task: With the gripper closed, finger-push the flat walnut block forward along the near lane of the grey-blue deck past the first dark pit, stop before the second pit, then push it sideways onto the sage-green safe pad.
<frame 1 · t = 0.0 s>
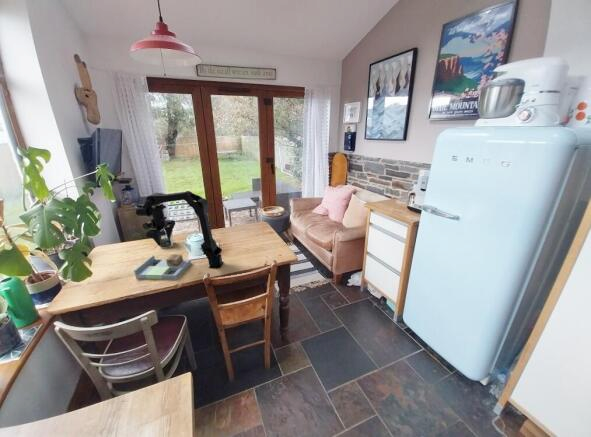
hand: (164, 242, 137), 15 cm above the table, fingers open, 9 cm apart
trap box: (165, 270, 136), on the table
walnut block: (175, 263, 139), point 2 cm above the table, touching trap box
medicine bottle: (167, 245, 166), on the table
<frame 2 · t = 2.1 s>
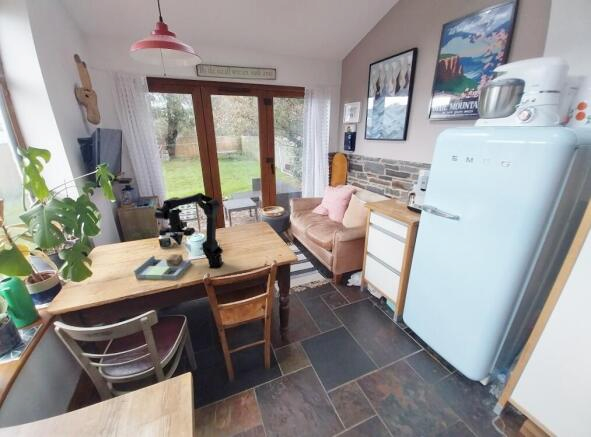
hand: (180, 244, 142), 11 cm above the table, fingers closed
nothing on the table moved.
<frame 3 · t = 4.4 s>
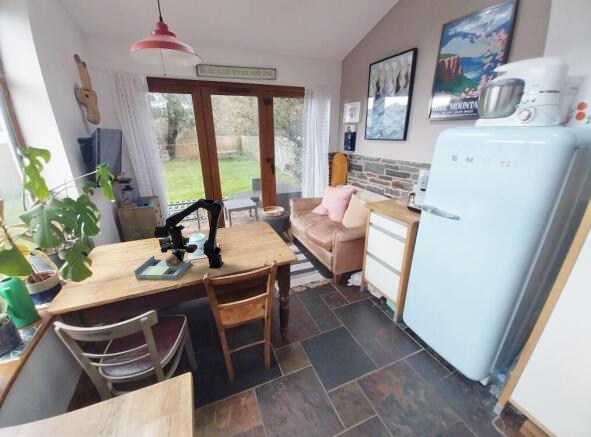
hand: (182, 261, 138), 4 cm above the table, fingers closed
walnut block: (174, 263, 139), point 3 cm above the table, touching gripper, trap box
everything else where it was.
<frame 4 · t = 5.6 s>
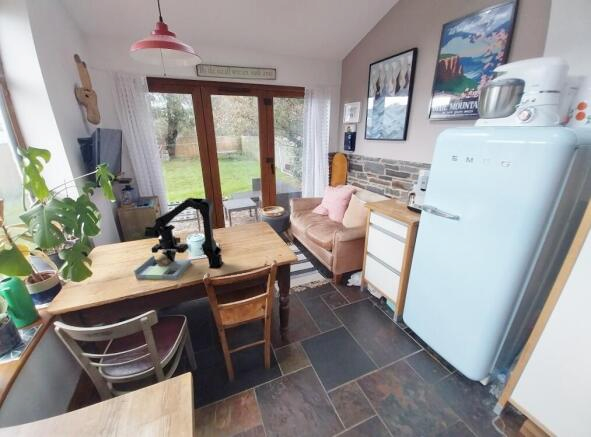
hand: (173, 261, 139), 4 cm above the table, fingers closed
walnut block: (165, 262, 139), point 3 cm above the table, touching gripper, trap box
everything else where it was.
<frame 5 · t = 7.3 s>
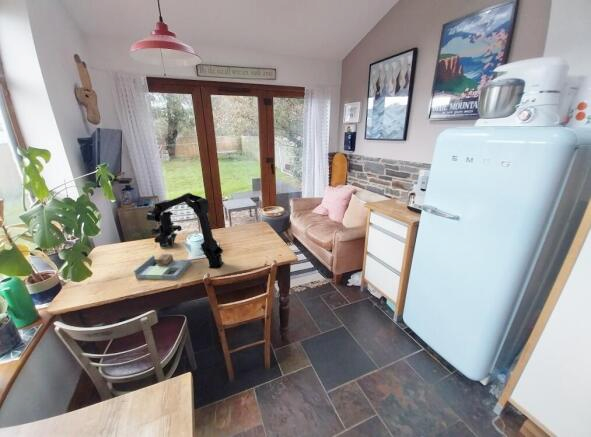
hand: (171, 246, 144), 9 cm above the table, fingers closed
walnut block: (165, 262, 139), point 2 cm above the table, touching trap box
everything else where it was.
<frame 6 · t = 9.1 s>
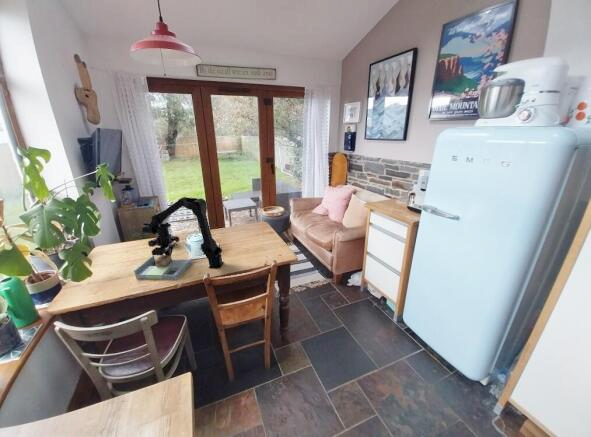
hand: (169, 258, 142), 4 cm above the table, fingers closed
walnut block: (164, 263, 138), point 3 cm above the table, touching gripper, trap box
everything else where it was.
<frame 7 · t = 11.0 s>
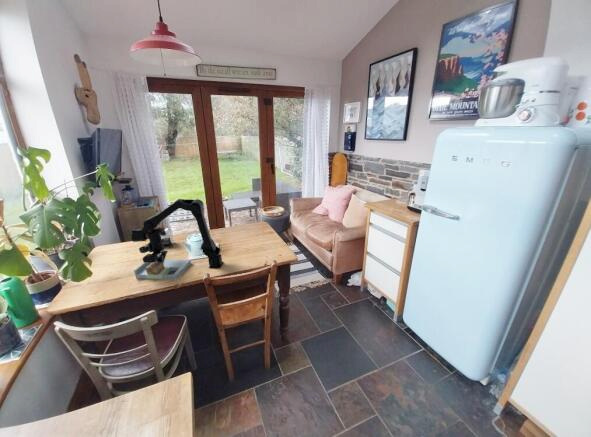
hand: (162, 264, 136), 4 cm above the table, fingers closed
walnut block: (156, 271, 132), point 2 cm above the table, touching gripper, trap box
everything else where it was.
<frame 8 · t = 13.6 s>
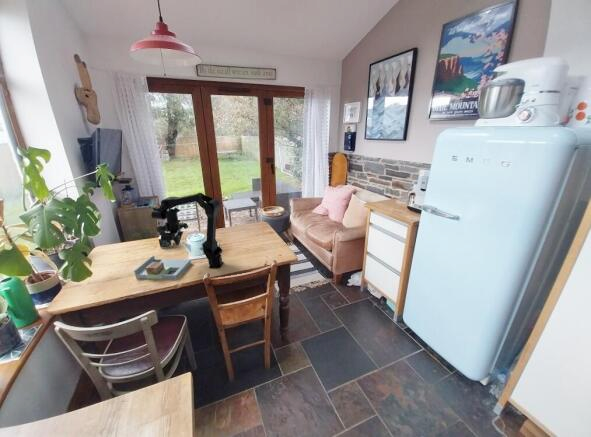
hand: (177, 244, 140), 12 cm above the table, fingers closed
walnut block: (156, 271, 131), point 2 cm above the table, touching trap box
everything else where it was.
at the end: walnut block 0.6 cm from the target spot, point 2.5 cm above the table; walnut block tilted 0° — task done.
